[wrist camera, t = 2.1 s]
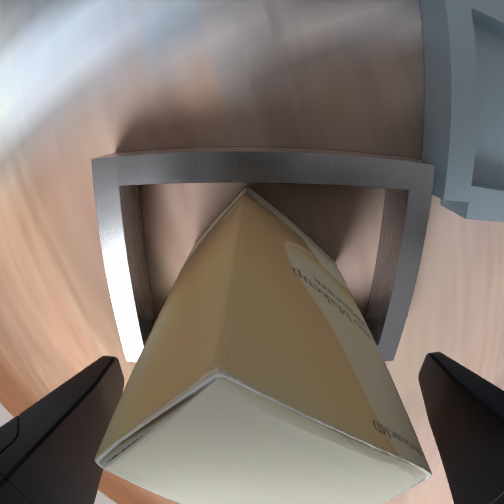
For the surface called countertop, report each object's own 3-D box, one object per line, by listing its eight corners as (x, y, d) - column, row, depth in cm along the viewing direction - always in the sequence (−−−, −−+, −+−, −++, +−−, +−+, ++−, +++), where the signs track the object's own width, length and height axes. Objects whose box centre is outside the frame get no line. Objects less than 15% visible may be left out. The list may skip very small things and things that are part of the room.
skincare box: (338, 262, 16) (445, 476, 5) (280, 317, 18) (308, 540, 6) (242, 178, 15) (216, 369, 3) (185, 245, 16) (86, 471, 5)
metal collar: (409, 157, 14) (435, 164, 12) (379, 334, 18) (393, 360, 16) (114, 152, 14) (91, 159, 12) (138, 334, 18) (126, 361, 16)
